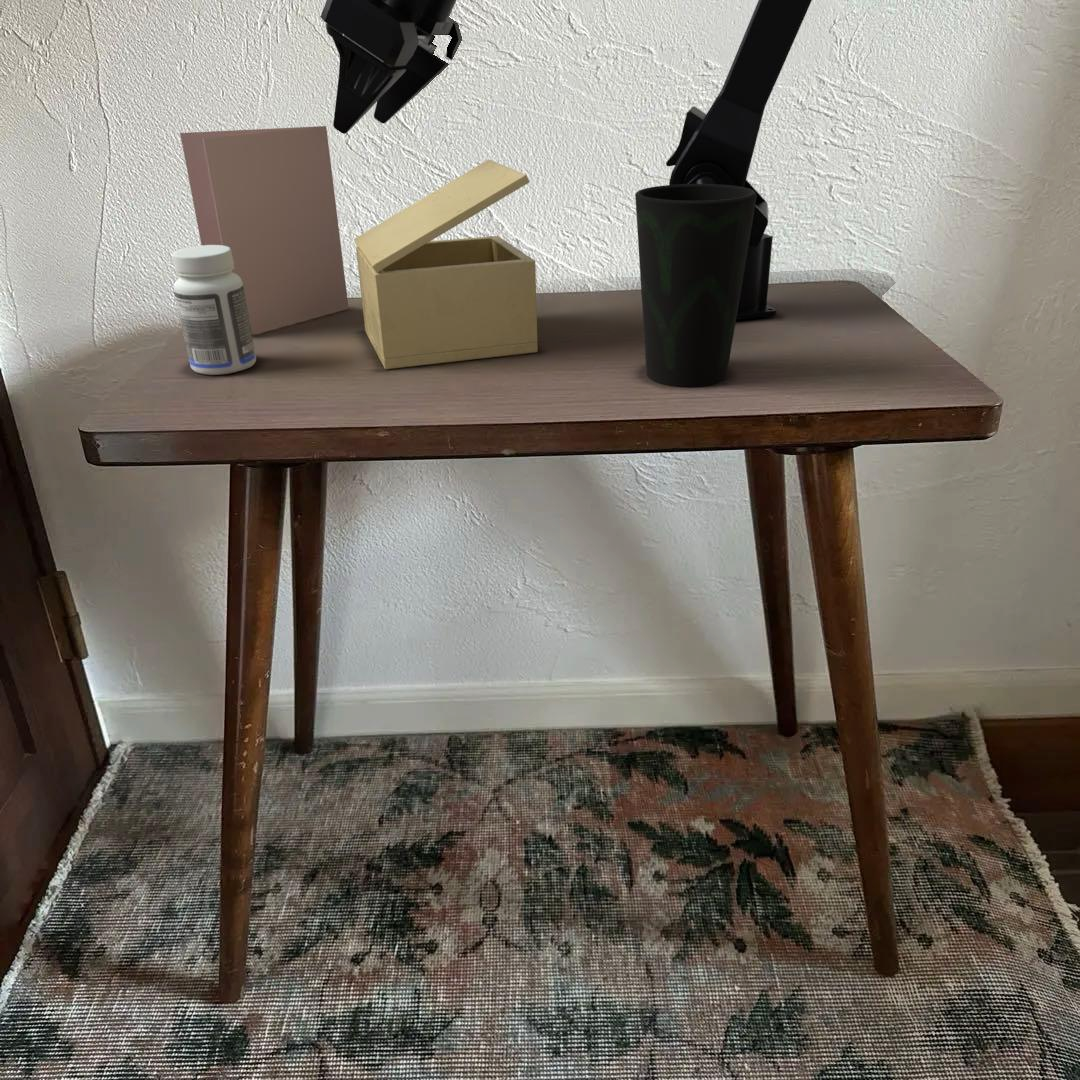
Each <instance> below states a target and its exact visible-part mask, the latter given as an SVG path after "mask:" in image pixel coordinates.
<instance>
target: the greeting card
mask: <svg viewBox="0 0 1080 1080" xmlns="http://www.w3.org/2000/svg"><path fill="white" fill-rule="evenodd" d="M179 135H180V141H181V145H182V151H183V157H184V161H185V166H186V167H185V168H186V172H187V177H188V182H189V187H190V193H191V198H192V203H193V208H194V213H195V218H196V219H195V220H196V223H197V224H196V225H197V229H198V234H199V239H200V246H202V245H222V246H227V247H229V248H230V249H231V252H232V257H233V262H234V269H233V270H232V272H233V273H235V274H237V275H238V276H239V277H240V278H241V280H242V283H243V287H244V293H245V299H246V304H247V310H248V315H249V320H250V325H251V331H252V336H253V335H257V334H261V333H264V332H267V331H271V330H276V329H280V328H282V327H286V326H290V325H293V324H297V323H301V322H304V321H308V320H312V319H316V318H320V317H323V316H326V315H330V314H335V313H338V312H342V311H345V310H348V309H349V308H350V307H349V301H348V300H349V299H348V292H347V284H346V277H345V276H346V275H345V269H344V259H343V251H342V245H341V243H342V242H341V235H340V228H339V217H338V213H337V212H338V211H337V203H336V195H335V187H334V178H333V170H332V163H331V155H330V154H331V153H330V146H329V145H330V144H329V139H328V129H327V125H321V126H320V125H319V126H299V127H278V128H276V127H275V128H257V129H256V128H255V129H235V130H215V131H214V130H213V131H194V132H193V131H192V132H179Z"/></svg>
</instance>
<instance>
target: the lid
mask: <svg viewBox="0 0 1080 1080" xmlns="http://www.w3.org/2000/svg"><path fill="white" fill-rule="evenodd" d="M529 179H530V178H529V177H528V175H527V174H526V173H524V172H521V171H518V170H516V169H514V168H511V167H508V166H506V165H504V164H502V163H499V162H496V161H494V160H491V159H486V160H485V161H483V162H481V163H480V164H478V165H476V166H475V167H473V168H471V169H470V170H468V171H465V172H464V173H463V174H461V175H459V176H458V177H456V178H454V179H452V180H450V181H449V182H448V183H446V184H444V185H443V186H441V187H439V188H437V189H436V190H434V191H432V192H431V193H429V194H427V195H426V196H424V197H422V198H420V199H419V200H417V201H415V202H414V203H412V204H410V205H409V206H407V207H405V208H403V209H402V210H400V211H399V212H397V213H395V214H393V215H392V216H390V217H388V218H386V219H385V220H383V221H382V222H380V223H377V224H376V225H375V226H373V227H371V228H369V229H368V230H366V231H365V232H363V233H361V234H359V235H357V237H354V238H353V241H354V243H355V245H356V247H358V248H359V249H360V250H361V252H362V253H363V255H364V256H365V258H366V259H367V260H368V262H369V263H370V265H371V266H372V268H373V269H374V270H375V272H376V273H377V272H379V271H381V270H382V269H384V268H386V267H387V266H389V265H391V264H393V263H394V262H396V261H398V260H399V259H401V258H403V257H404V256H406V255H408V254H409V253H411V252H413V251H414V250H416V249H418V248H420V247H421V246H423V245H425V244H426V243H428V242H430V241H434V239H436V238H438V237H440V236H441V235H443V234H445V233H446V232H448V231H450V230H451V229H453V228H455V227H457V226H458V225H460V224H462V223H463V222H466V221H467V220H469V219H470V218H472V217H474V216H475V215H477V214H479V213H480V212H483V211H484V210H485V209H487V208H489V207H490V206H493V205H494V204H496V203H497V202H499V201H501V200H502V199H504V198H505V197H508V196H509V195H511V194H513V193H514V192H516V191H518V190H519V189H521V188H522V187H524V186H526V185H528V184H530V180H529Z"/></svg>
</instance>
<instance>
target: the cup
mask: <svg viewBox="0 0 1080 1080" xmlns="http://www.w3.org/2000/svg"><path fill="white" fill-rule="evenodd" d="M634 197H635V198H634V199H635V215H636V228H637V229H636V230H637V245H638V260H639V274H640V276H639V277H640V291H641V292H640V293H641V306H642V308H641V309H642V323H643V337H644V340H643V341H644V355H645V372H646V377H648V379H650V380H651V381H653V382H656V383H658V384H661V385H666V386H672V387H681V388H682V387H683V388H688V387H689V388H692V387H693V388H696V387H705V386H710V385H715V384H718V383H720V382H722V381H724V380H725V379H726V378H727V376H728V370H729V364H730V358H731V351H732V348H733V347H732V346H733V341H734V335H735V328H736V324H737V323H736V322H737V320H736V317H737V311H738V305H739V299H740V293H741V287H742V281H743V275H744V269H745V263H746V257H747V251H748V245H749V239H750V233H751V227H752V221H753V215H754V209H755V203H756V197H757V194H756V193H755V191H754V190H752V189H749V188H745V187H739V186H731V185H718V184H678V185H669V184H668V185H657V186H650V187H644V188H643V189H639V190H638V191H636V192H635V193H634Z"/></svg>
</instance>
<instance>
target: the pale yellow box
mask: <svg viewBox="0 0 1080 1080" xmlns="http://www.w3.org/2000/svg"><path fill="white" fill-rule="evenodd" d="M355 249H356V250H355V252H356V261H357V269H358V279H359V287H360V295H361V296H360V297H361V306H362V312H363V313H362V314H363V322H364V330H365V334H366V335H367V337H368V339H369V341H370V343H371V345H372V347H373V349H374V351H375V353H376V355H377V356H378V359H379V360H380V362H381V364H382V366H383V368H384V370H393V369H401V368H410V367H419V366H427V365H428V366H429V365H436V364H437V365H438V364H444V363H454V362H462V361H463V362H464V361H471V360H480V359H488V358H497V357H499V358H500V357H507V356H516V355H525V354H532V353H533V354H534V353H538V351H539V350H538V318H537V317H538V313H537V312H538V311H537V310H538V309H537V276H536V274H537V273H536V260H535V259H534V258H532V257H530V255H527V254H526V253H525V252H523V251H522V250H520V249H519V248H517V247H516V246H514V245H513V244H511V243H510V242H508V241H507V240H505V239H504V238H502V237H501V236H499V235H490V236H476V237H467V238H454V239H441V240H439V239H438V240H431V241H430V242H428V243H426V244H425V245H423V246H421V247H420V248H418V249H416V250H414V251H413V252H411V253H409V254H408V255H406V256H404V257H403V258H401V259H399V260H398V261H396V262H394V263H393V264H391V265H389V266H387V267H386V268H384V269H382V270H381V271H379V272H377V273H376V272H375V270H374V269H373V268H372V266H371V265H370V263H369V262H368V260H367V259H366V258H365V256H364V255H363V253H362V252H361V250H360V249H359V248H358V246H355Z"/></svg>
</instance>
